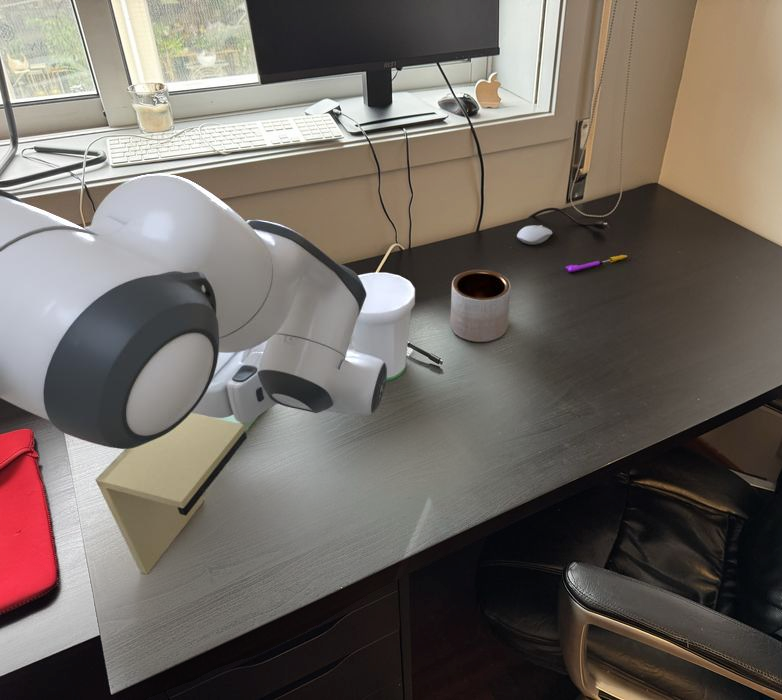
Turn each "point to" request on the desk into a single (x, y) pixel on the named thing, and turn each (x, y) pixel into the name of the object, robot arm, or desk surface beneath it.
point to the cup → (385, 320)
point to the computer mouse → (534, 234)
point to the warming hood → (166, 482)
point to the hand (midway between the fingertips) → (187, 348)
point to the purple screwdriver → (592, 264)
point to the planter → (480, 305)
